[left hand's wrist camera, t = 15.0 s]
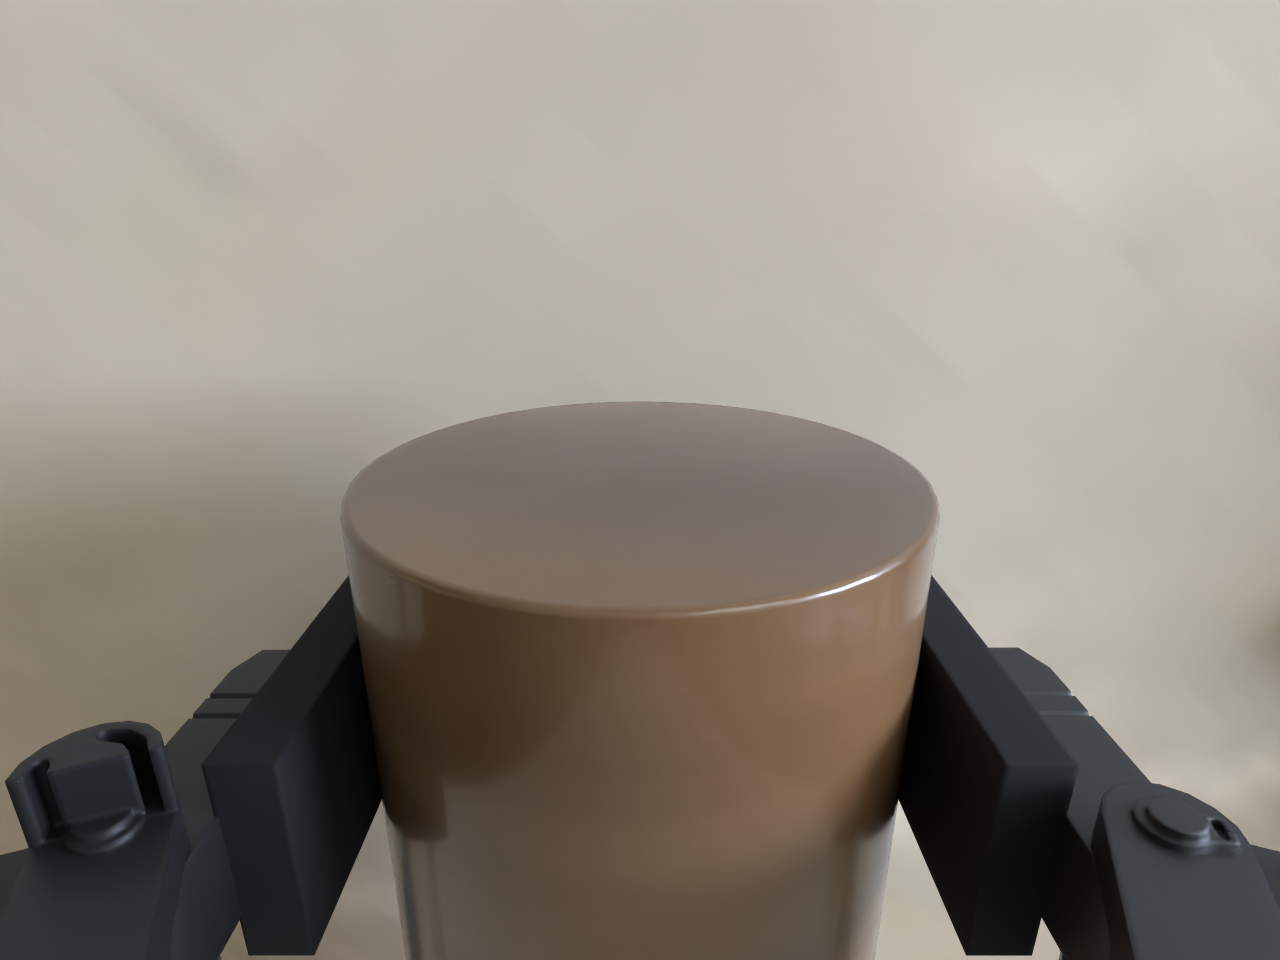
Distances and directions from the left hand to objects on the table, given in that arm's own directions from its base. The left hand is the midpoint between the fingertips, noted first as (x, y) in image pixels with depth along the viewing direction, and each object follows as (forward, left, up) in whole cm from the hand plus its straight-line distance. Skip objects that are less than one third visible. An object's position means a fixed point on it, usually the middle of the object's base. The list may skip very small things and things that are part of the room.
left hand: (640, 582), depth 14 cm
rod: (+4, +7, 0) cm, 8 cm away
